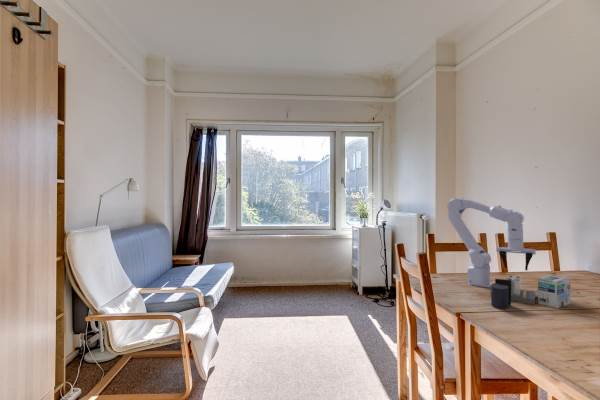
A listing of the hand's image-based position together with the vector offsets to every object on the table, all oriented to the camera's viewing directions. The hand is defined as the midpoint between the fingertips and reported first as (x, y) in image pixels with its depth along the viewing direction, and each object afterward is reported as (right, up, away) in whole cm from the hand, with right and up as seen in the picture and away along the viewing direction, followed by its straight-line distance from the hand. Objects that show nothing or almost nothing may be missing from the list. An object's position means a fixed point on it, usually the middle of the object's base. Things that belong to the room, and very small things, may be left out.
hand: (515, 269), depth 144 cm
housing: (-8, -8, -11) cm, 15 cm away
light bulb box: (+2, -10, -19) cm, 22 cm away
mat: (+2, -10, -3) cm, 10 cm away
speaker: (-19, -10, -20) cm, 30 cm away
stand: (-8, -10, -10) cm, 16 cm away
